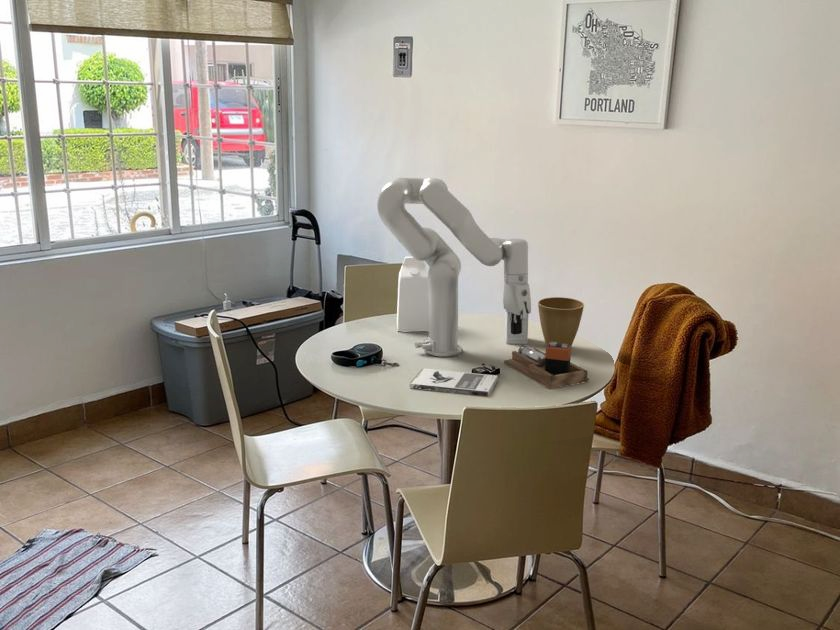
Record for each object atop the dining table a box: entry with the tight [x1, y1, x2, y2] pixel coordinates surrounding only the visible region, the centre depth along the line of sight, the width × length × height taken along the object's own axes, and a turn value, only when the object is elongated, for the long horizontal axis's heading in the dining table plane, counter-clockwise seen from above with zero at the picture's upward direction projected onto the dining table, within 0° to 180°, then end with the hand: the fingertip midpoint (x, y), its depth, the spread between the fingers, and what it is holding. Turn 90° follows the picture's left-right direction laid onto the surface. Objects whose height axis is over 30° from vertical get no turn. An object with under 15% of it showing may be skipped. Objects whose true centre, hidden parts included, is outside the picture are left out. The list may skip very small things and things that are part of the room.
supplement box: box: [503, 309, 529, 345], centre depth 268 cm, size 7×7×13 cm
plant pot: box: [537, 296, 585, 347], centre depth 258 cm, size 15×15×16 cm
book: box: [409, 368, 498, 397], centre depth 228 cm, size 23×14×2 cm, turn 74°
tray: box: [503, 347, 590, 390], centre depth 238 cm, size 14×25×4 cm, turn 25°
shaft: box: [517, 344, 545, 366], centre depth 244 cm, size 4×10×4 cm, turn 25°
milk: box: [396, 256, 429, 332], centre depth 282 cm, size 12×12×26 cm
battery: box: [545, 342, 572, 375], centre depth 231 cm, size 4×7×10 cm, turn 69°
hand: (516, 333), depth 253 cm, fingers closed
